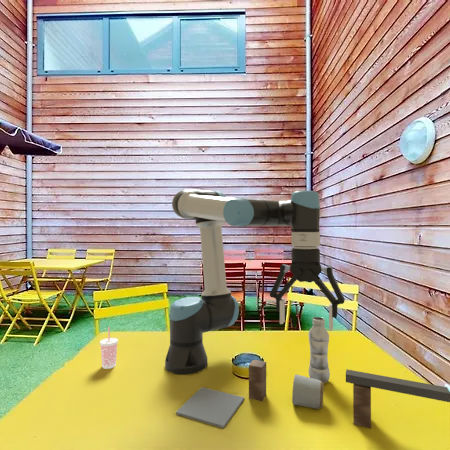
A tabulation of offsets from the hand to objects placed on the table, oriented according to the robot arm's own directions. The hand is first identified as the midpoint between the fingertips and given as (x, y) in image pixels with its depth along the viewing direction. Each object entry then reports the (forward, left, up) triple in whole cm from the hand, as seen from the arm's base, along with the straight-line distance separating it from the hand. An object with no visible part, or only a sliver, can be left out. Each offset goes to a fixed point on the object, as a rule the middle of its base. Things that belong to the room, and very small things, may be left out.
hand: (305, 326), depth 85 cm
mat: (-24, -10, -23) cm, 34 cm away
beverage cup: (-69, -3, -23) cm, 73 cm away
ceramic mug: (0, +3, -23) cm, 23 cm away
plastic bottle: (+1, +17, -23) cm, 28 cm away
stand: (0, 0, -23) cm, 23 cm away
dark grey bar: (+21, 0, -13) cm, 25 cm away
